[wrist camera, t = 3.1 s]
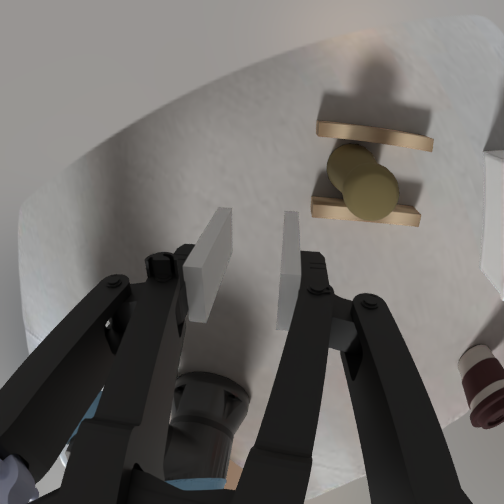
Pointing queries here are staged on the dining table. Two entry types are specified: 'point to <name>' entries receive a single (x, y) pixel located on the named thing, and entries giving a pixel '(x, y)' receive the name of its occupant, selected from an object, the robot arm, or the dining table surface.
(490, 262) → the butter dish
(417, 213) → the pair of wooden strips
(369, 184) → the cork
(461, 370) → the coffee cup
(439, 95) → the dining table surface
